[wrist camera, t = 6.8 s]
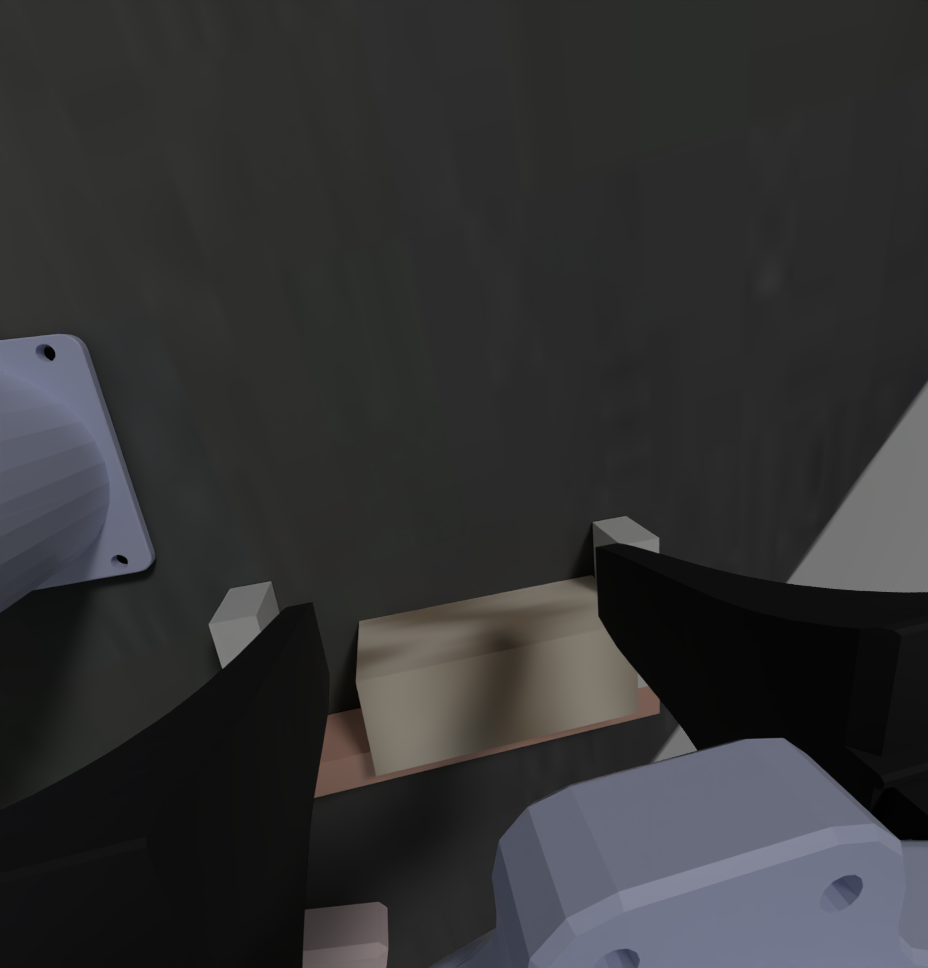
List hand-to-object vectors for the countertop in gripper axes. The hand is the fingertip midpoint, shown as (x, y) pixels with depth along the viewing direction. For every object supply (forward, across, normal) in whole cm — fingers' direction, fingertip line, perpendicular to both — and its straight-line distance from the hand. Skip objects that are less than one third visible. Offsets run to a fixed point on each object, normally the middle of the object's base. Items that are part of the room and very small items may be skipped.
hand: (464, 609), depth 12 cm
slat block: (+8, -2, +6) cm, 10 cm away
